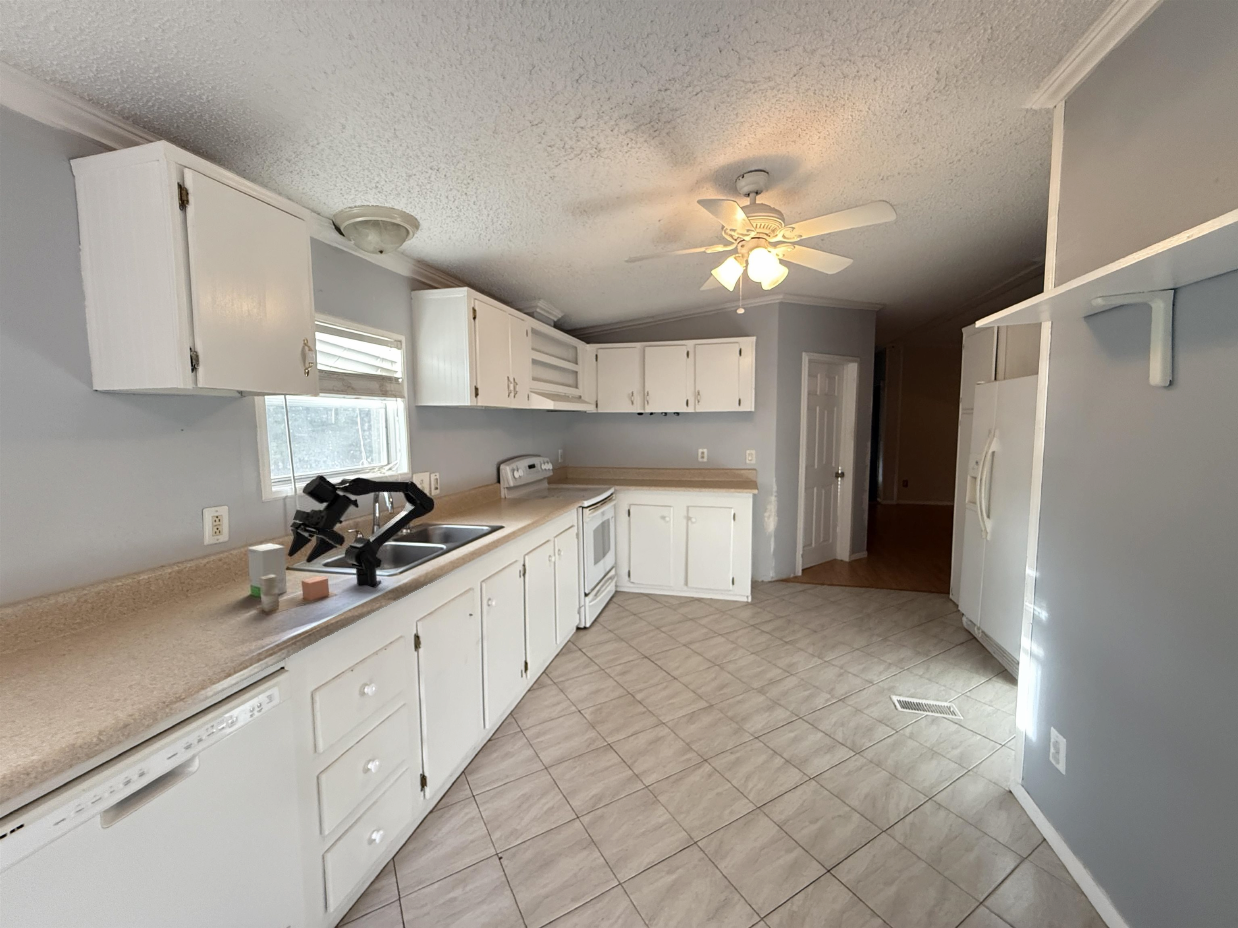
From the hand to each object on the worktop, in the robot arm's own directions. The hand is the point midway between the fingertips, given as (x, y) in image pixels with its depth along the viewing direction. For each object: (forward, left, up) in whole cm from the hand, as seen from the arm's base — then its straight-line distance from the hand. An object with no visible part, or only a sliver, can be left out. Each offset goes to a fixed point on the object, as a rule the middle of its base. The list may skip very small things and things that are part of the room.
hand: (298, 559), depth 138 cm
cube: (-3, +2, -12) cm, 13 cm away
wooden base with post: (0, -1, -13) cm, 13 cm away
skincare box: (-10, -14, -14) cm, 21 cm away
